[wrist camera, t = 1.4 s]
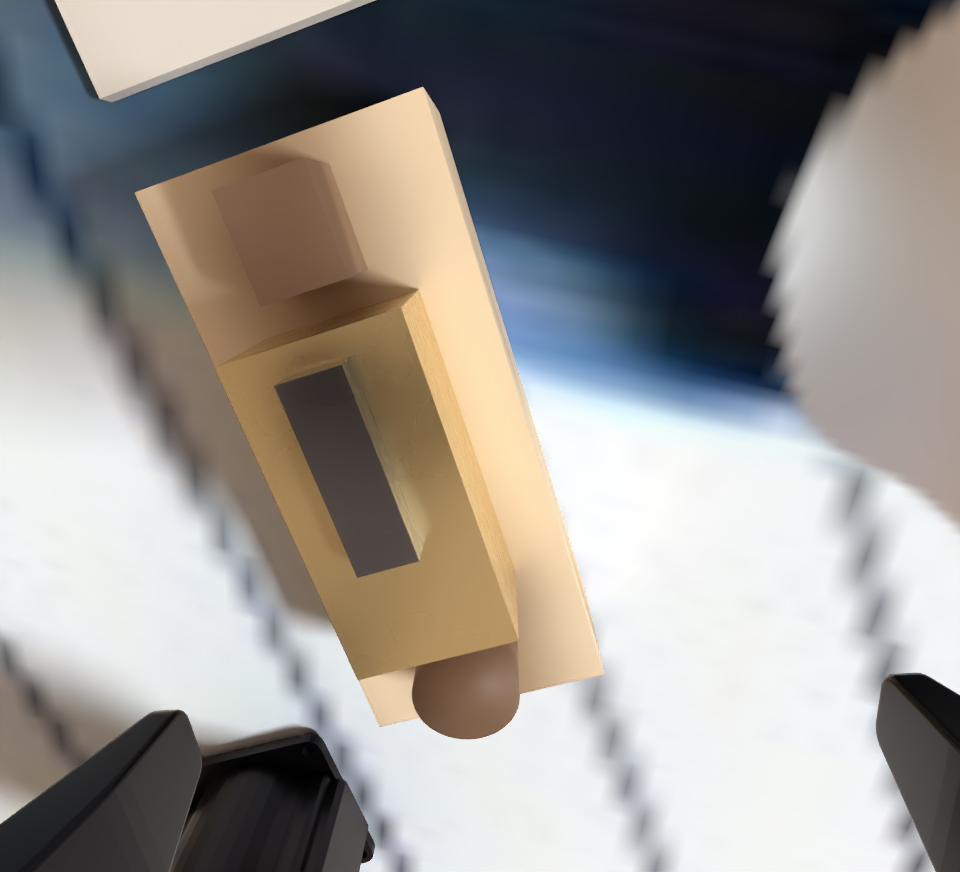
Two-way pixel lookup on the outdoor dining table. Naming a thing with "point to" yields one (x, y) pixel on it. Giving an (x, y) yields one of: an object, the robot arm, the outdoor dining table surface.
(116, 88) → the mat
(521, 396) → the plane body
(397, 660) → the tan slotted block
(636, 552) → the outdoor dining table surface
